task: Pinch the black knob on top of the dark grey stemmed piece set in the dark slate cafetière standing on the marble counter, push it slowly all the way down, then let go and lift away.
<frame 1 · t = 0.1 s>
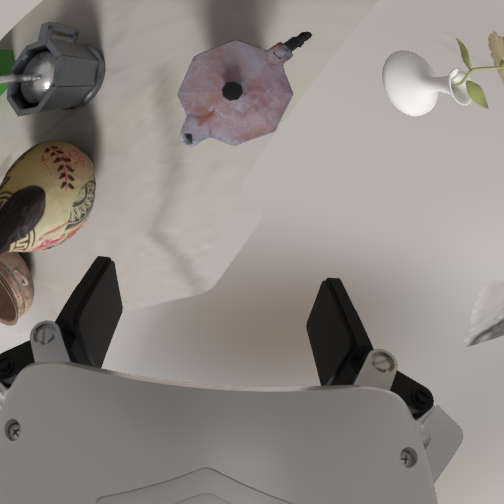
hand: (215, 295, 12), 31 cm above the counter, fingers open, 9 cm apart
moka pot: (242, 90, 33), on the counter
dark grey stemmed piece: (6, 79, 14), point 17 cm above the counter, slide at 0.0 cm
flower in vase: (404, 78, 32), on the counter
ceramic jug: (77, 174, 38), on the counter
cooking pot: (17, 263, 46), on the counter
carafe: (76, 77, 29), on the counter
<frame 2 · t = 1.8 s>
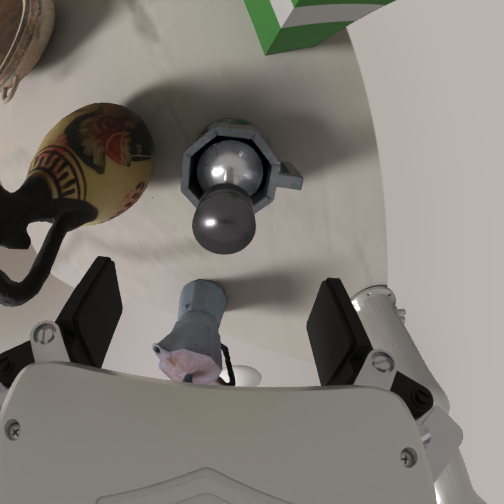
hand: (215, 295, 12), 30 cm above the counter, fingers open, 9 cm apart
moka pot: (205, 297, 51), on the counter
dark grey stemmed piece: (227, 190, 23), point 17 cm above the counter, slide at 0.0 cm
flower in vase: (241, 372, 65), on the counter
ceramic jug: (122, 154, 36), on the counter
cooking pot: (32, 41, 22), on the counter
hardback book: (271, 1, 25), on the counter
carafe: (231, 155, 37), on the counter
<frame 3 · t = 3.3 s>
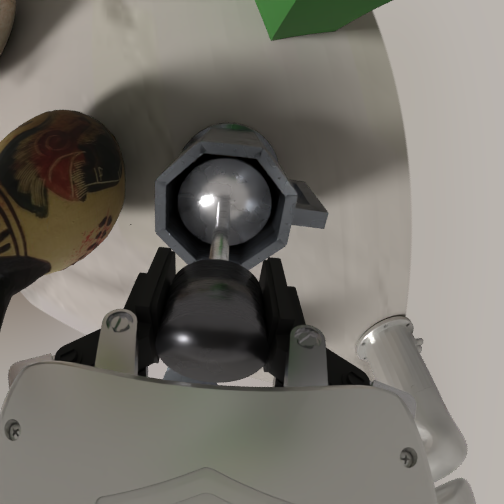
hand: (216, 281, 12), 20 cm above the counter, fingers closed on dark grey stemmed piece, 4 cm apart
dark grey stemmed piece: (219, 247, 15), point 17 cm above the counter, slide at 0.0 cm, touching gripper
ceramic jug: (92, 171, 28), on the counter
carafe: (228, 171, 29), on the counter
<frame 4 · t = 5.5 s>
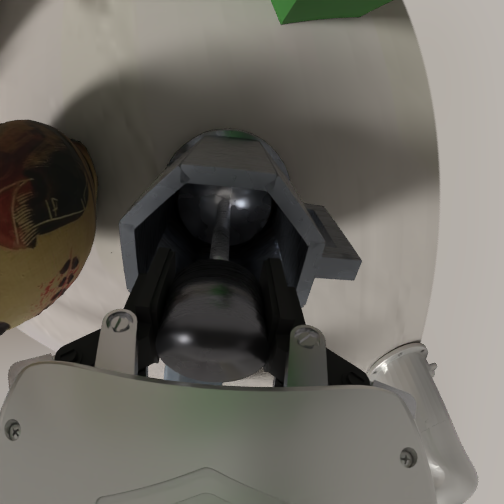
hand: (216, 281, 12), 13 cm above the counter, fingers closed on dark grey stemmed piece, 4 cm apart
moka pot: (197, 367, 37), on the counter
dark grey stemmed piece: (220, 247, 15), point 10 cm above the counter, slide at 6.8 cm, touching gripper
ceramic jug: (64, 190, 22), on the counter
carafe: (226, 190, 24), on the counter
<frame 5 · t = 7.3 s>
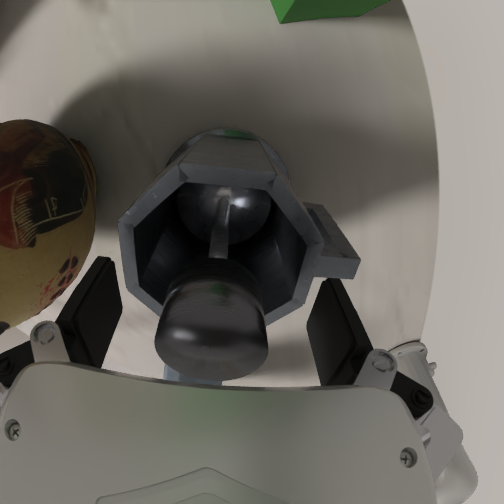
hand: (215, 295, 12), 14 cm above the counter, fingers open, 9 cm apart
moka pot: (196, 366, 37), on the counter
dark grey stemmed piece: (219, 246, 15), point 10 cm above the counter, slide at 6.8 cm
ceramic jug: (63, 189, 22), on the counter
carafe: (225, 189, 24), on the counter
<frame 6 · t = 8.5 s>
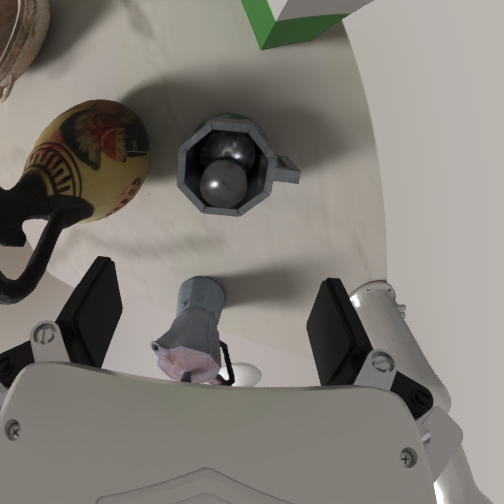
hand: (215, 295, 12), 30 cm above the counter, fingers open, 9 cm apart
moka pot: (204, 294, 51), on the counter
dark grey stemmed piece: (226, 166, 29), point 10 cm above the counter, slide at 6.8 cm
flower in vase: (241, 369, 65), on the counter
ceramic jug: (118, 151, 36), on the counter
cooking pot: (28, 40, 21), on the counter
carafe: (228, 150, 37), on the counter
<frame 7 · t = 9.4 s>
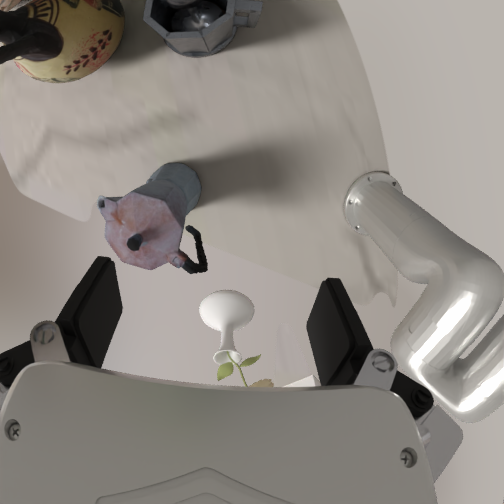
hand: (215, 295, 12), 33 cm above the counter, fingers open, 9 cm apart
moka pot: (177, 187, 43), on the counter
dark grey stemmed piece: (191, 6, 20), point 10 cm above the counter, slide at 6.8 cm
flower in vase: (230, 304, 57), on the counter
ceramic jug: (97, 44, 27), on the counter
carafe: (199, 26, 29), on the counter
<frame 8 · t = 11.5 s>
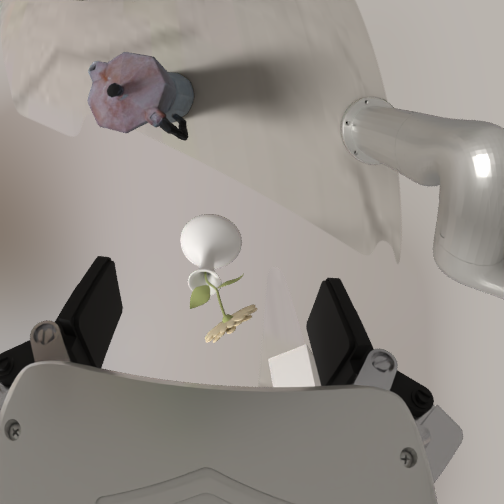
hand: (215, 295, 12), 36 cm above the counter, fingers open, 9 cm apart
moka pot: (170, 97, 37), on the counter
milk: (294, 361, 74), on the counter
flower in vase: (215, 236, 51), on the counter
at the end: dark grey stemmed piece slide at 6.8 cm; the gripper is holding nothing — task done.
